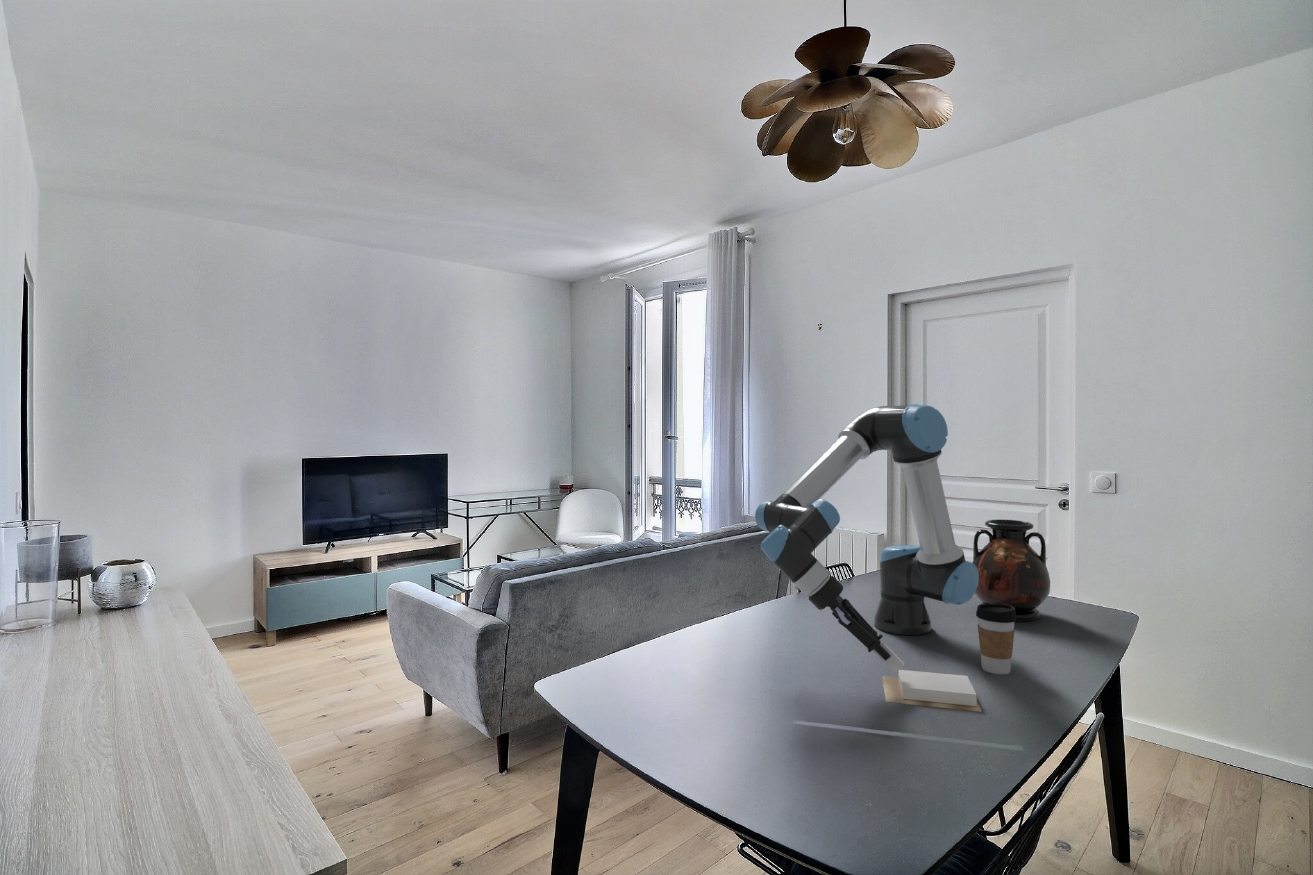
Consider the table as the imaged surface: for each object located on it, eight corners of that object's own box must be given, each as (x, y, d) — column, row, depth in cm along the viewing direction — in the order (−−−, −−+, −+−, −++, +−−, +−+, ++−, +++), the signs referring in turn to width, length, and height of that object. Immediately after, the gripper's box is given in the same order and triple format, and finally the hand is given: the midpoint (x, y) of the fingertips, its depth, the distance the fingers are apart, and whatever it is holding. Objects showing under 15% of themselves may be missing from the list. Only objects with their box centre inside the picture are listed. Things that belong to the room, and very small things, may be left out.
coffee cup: (1021, 677, 146) (1022, 612, 146) (981, 675, 148) (981, 610, 148) (1009, 664, 154) (1009, 602, 154) (971, 662, 156) (971, 600, 156)
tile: (902, 687, 134) (976, 694, 130) (898, 669, 143) (967, 675, 140) (902, 699, 134) (976, 707, 130) (898, 680, 144) (967, 687, 140)
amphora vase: (1045, 609, 200) (1045, 519, 199) (1055, 629, 180) (1055, 529, 180) (968, 601, 209) (968, 515, 208) (969, 620, 189) (969, 525, 189)
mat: (885, 704, 133) (885, 701, 133) (881, 678, 146) (881, 676, 146) (981, 714, 128) (981, 711, 128) (968, 686, 141) (968, 684, 141)
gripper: (808, 589, 150) (884, 667, 145) (805, 604, 137) (888, 690, 133) (832, 568, 148) (909, 646, 144) (830, 581, 136) (915, 667, 131)
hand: (899, 667), depth 138 cm, fingers closed
